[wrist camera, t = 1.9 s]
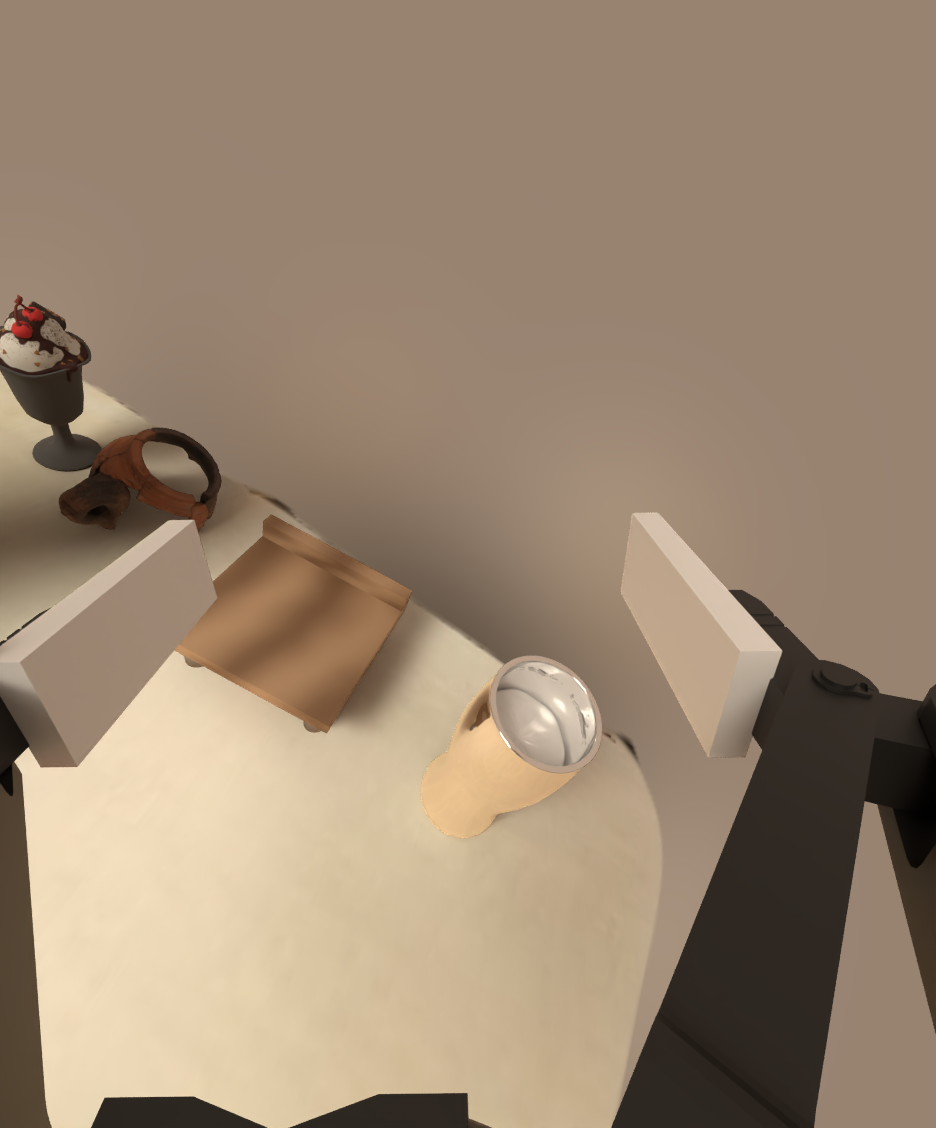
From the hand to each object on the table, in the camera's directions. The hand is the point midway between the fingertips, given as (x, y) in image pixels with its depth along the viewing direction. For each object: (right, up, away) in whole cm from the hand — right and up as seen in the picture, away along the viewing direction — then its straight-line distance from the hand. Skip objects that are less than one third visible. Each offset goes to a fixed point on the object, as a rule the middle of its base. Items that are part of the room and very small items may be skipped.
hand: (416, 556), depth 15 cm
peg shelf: (-13, -7, +25) cm, 29 cm away
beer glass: (+1, -17, +22) cm, 28 cm away
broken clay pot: (-27, +4, +28) cm, 39 cm away
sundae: (-34, +10, +30) cm, 46 cm away
